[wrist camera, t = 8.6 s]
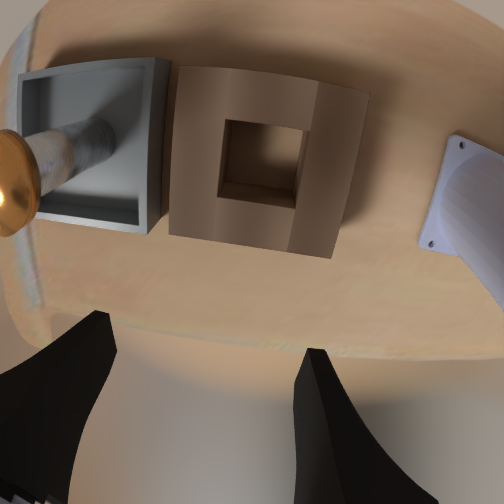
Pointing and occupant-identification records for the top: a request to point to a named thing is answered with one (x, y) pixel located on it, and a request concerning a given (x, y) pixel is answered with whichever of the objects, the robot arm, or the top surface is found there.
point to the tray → (126, 133)
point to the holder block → (253, 196)
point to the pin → (46, 165)
